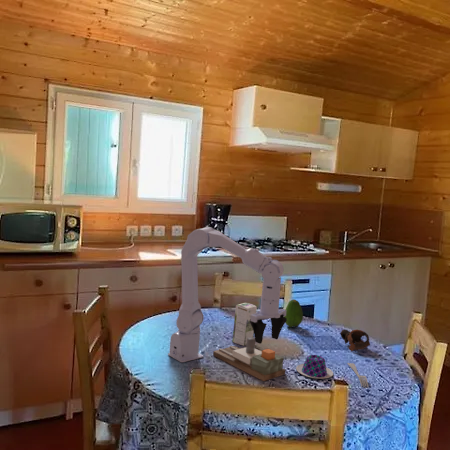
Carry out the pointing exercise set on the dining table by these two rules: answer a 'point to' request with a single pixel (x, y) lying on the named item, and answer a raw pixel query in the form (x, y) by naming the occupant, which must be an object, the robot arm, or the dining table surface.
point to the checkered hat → (314, 367)
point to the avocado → (293, 313)
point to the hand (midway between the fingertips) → (266, 340)
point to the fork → (358, 374)
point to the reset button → (268, 354)
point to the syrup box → (243, 323)
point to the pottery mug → (355, 339)
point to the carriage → (247, 351)
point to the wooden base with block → (253, 364)
